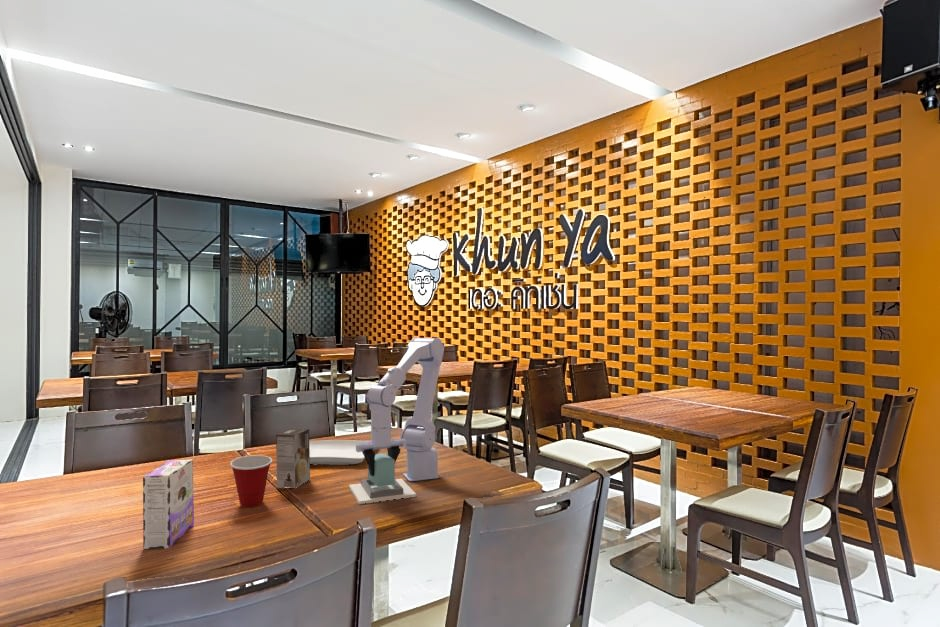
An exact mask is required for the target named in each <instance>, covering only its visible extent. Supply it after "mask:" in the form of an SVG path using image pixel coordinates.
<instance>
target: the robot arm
mask: <svg viewBox="0 0 940 627" xmlns="http://www.w3.org/2000/svg"><path fill="white" fill-rule="evenodd" d="M444 352H445V347H444V344H443V342H442V339H440V337H434V338H433V337H432V338H431V337H430V338H429V337H417V336H416V337H413V338H412V339H411V340H410V342H409V343H408V344H407V351H406V353H404V355H403V357H402V358H401V360H400V361H399V362H398V364H397V365H396V366H392V367H391V368H388V369H387V372H386V373H385V374H384V376H383V377H382V378H381V379H380V380H379V382H378V383H377V384H373V385H372V386H371V387H370V388H369V389H368V391H367V395H365V397H366V402H367V403H368V407H369V411H370V431H371V432H370V438H371V439H370V440H369V441H370V442H366V443H361V444H356V451H357V452H361V451H362V453H363V455H364V457H365V459H364V460H365V461H366V463H367V469H368V468H369V472H370V475H371V476H374V459H375V454H376V453H374V451H376V450H383V449H386V450H387V455H388V456H389V457H391V458H393V459H394V460H395V463H396V462H397V460H398V457H399V456H400V453H401V448H400V447H402V448H404V449H405V450H406V472H404V473H402V475H403V476H404V478H406V480H408V481H409V482H415V481H416V482H417V481H418V482H419V481H425V480H432V479H439V473H438V472H439V471H438V470H439V469H438V468H439V464H438V462H439V461H438V460H439V457H438V451H437V449H436V448H435V447H434V445H435V443H436V425H435V424H434V423H433V422H432V421H431V420H430V418H431V414H432V409H433V404H434V398H435V393H436V389H437V383H438V380H439V379H438V378H439V373H440V369H441V365H442V363H443V358H444ZM416 363H418V365H420V366H421V368H422V371H421V376H420V382H419V387H418V391H417V395H416V399H415V400H416V401H415V406H414V409H413V410H414V411H413V414H412V415H413V416H412V417H410V418H409V419H408V420H407V421H405V424H404V427H403V429H402V431H401V434H400V439H399V438H397V439H396V438H395V439H392V405H393V404H394V403H395V400H396V396H397V394H398V393H397V392H398V390H399V389H400V388H401V386H402V385H403V384H404V383H405V381H406V380H407V375H406V374H407V373H408V372H409V371H410V370H411V368H413V366H414V365H415V364H416Z"/></svg>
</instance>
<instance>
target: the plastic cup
mask: <svg viewBox="0 0 940 627" xmlns="http://www.w3.org/2000/svg"><path fill="white" fill-rule="evenodd" d="M272 462H273V458H272V457H271V456H268V455H261V454H259V455H258V454H254V455H253V454H251V455H245V456H240V457H237V458H234V459H233V460H231V461H230V463H229V465H230V467H231V469H232V472H233V475H234V480H235V486H236V492H237V495H238V500H239V504H240V506H241V507H243V506H244V508H252V507H257V506H260V505H262V504H263V501H264V498H265V491H266V488H267V487H266V485H267V480H268V475H269V471H270V466H271V464H272Z"/></svg>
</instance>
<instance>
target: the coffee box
mask: <svg viewBox="0 0 940 627" xmlns="http://www.w3.org/2000/svg"><path fill="white" fill-rule="evenodd" d="M275 438H276V439H275V443H276V444H275V445H276V446H275V449H276V450H275V452H276V454H275V455H276V463H275V464H276V488H277V489H282V488H281V487H290V488H296V487H298V486H300V485H301V484H303V483H304V484H306V483H308V482H309V481H311V465H310V450H309V441H310V429H309V428H290V429H288V430H285V431H282V432H279V433H278V434H276V435H275ZM308 480H309V481H308ZM307 481H308V482H307ZM305 482H306V483H305ZM304 484H303V485H304ZM301 486H302V485H301ZM301 486H300V487H301ZM298 488H299V487H298ZM296 489H297V488H296Z"/></svg>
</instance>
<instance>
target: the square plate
mask: <svg viewBox="0 0 940 627" xmlns="http://www.w3.org/2000/svg"><path fill="white" fill-rule="evenodd" d="M370 441H371V440H351V439H350V440H348V439H346V440H345V439H327V440H326V439H325V440H309V450H310V464H321V465H320V466H323V465H322V464H330V465H329V466H350V465H349V464H351V465H356V464H361V463H362V462H363V461H364V460H366V459H365V457H364V455H363V453H362V451H361V452H357V451H356V444H361V443H366V442H370Z"/></svg>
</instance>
